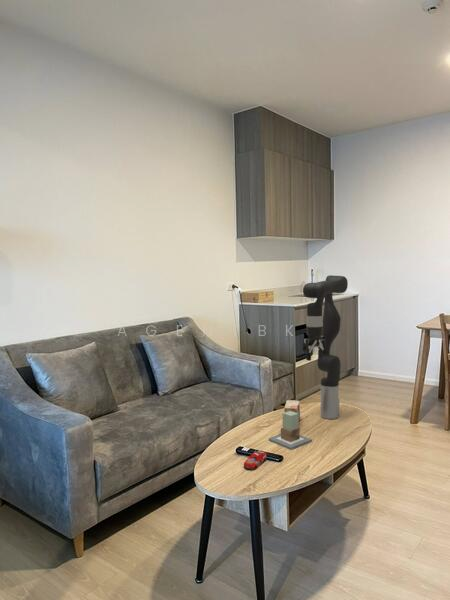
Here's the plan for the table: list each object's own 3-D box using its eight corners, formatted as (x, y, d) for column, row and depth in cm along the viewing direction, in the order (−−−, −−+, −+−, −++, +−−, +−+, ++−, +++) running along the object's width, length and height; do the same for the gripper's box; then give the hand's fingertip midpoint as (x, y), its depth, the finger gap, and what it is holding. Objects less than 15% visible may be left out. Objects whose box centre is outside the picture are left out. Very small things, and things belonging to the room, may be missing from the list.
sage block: (290, 425, 204) (290, 410, 204) (298, 428, 200) (298, 413, 200) (282, 428, 201) (282, 413, 201) (290, 431, 197) (290, 415, 197)
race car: (253, 472, 172) (253, 462, 171) (241, 469, 175) (241, 459, 174) (268, 459, 183) (268, 450, 182) (257, 456, 186) (257, 447, 185)
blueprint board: (289, 432, 211) (289, 420, 210) (312, 441, 200) (311, 428, 199) (268, 440, 202) (268, 427, 202) (290, 449, 191) (290, 436, 191)
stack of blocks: (288, 417, 233) (288, 394, 232) (300, 418, 232) (300, 395, 231) (284, 432, 212) (284, 407, 211) (297, 433, 211) (297, 408, 210)
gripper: (318, 323, 214) (318, 355, 215) (298, 325, 205) (298, 360, 206) (330, 324, 208) (330, 358, 209) (310, 327, 199) (310, 362, 200)
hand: (314, 359), depth 207 cm, fingers open, 8 cm apart
